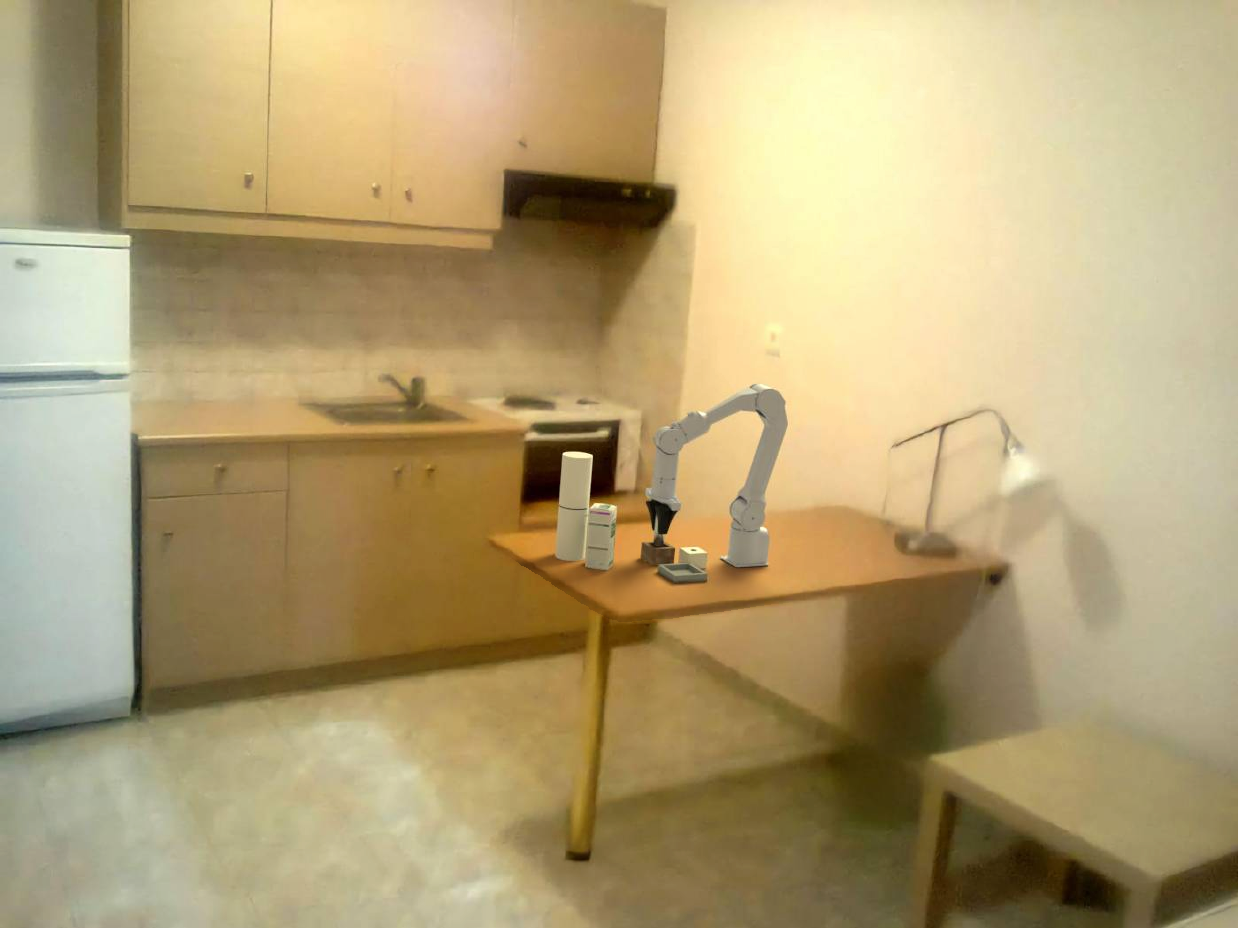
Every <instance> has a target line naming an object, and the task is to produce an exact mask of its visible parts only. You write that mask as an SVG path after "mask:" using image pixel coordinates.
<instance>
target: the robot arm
mask: <svg viewBox="0 0 1238 928" xmlns="http://www.w3.org/2000/svg"><path fill="white" fill-rule="evenodd" d="M786 403H787V401H786V400H785V398H784V397H783V395H782V393H781V392H780V391H779V390H777V389H775V387H774V388H772V387H770V386H767V385H766V384H764V383H761V382H756V383H753V384H751V385H750V386H749V387H748V386H746V387H744V388H742V389H740V390H739V391H738V392H736V393H735V394H733V395H731V396H729V397H728V398H727V399H724V400H723V401H721V402H719V403H718V404H717V405H714V406H713V407H712V408H710V409H708V410H707V411H705V412H702V411H698V410H696V411H689V412H687V413H686V414H687V416H685V417H683V418H681V419H679V420H677V421H676V422H674V421H672V422H670V423H669V424H670V426H666V425H665V426H661V427H660V428H658V429H657V430H656V432H655V434H654V436H653V437H652V440H653V444H654V446H656V447H655V455H654V462H653V471H652V484H651V487H646V488H645V493H644V494H645V497H646V498H647V499H649V500H646V501H645V505H646V506H647V510H648V512H649V516H650V523H651V524H650V525H651V529H652V531H653V532H654V529H655V518H656V513H657V518H658V534H660V535H661V534H665V535H668V533H669V529H670V527H671V524H672V521H673V520H674V518H675V516H676V515H677V513H678V512H679V511H681V506H682V502H680V501H679V500H678V498H677V496H676V489H677V488H676V487H677V481H678V479H677V478H678V469H679V456H680V452H681V451H682V449H683V447H684V445H688V444H689V443H690V442H692V441H694V440H696V439H698V438H701V436H702V437H703V435H705V434H707V433H709V431H710V429H711V426H712V425H713V424H714V425H715V423H718V422H720V421H721V420H725V419H726V418H728V417H730V416H732V415H734V414H737V413H739V412H742V411H743V412H751V413H756V414H758V416H759V418H760V420H761V422H762V423H763V429H762V433H761V435H760V438H759V441H758V443H757V447H756V449H755V452H754V456H753V459H752V461H751V465H750V468H749V471H748V474H747V477H746V480H745V483H744V486H743V487H741V488H740V489H739V490H738V493H737V495H736V497H735V498H734V499H733V500H732V501H731V502H730V504H729V505H730V506H729V509H728V512H729V515H730V516H731V518H732V521H731V523H730V529H729V531H730V532H729V537H728V538H729V540H728V548H727V555H721V556H720V559H721V560H724V561H725V562H727V563H728V564H730V565H731V566H733V567H735V568H745V567H760V566H762V567H763V566H769V564H770V563H769V562H768V556H769V548H770V535H769V532H768V531H769V530H767V528H766V527H764V526H763V524H764V523H765V521H766V515H765V514H766V513H765V509H766V506H767V501H766V500H767V499H766V492H767V491H766V490H767V488H768V485H769V484H770V483H769V482H770V479H771V477H772V473H773V470H774V467H775V464H776V461H777V458H778V456H779V453H780V450H781V446H782V445H783V441H784V437H785V434H786V432H787V429H788V424H789V423H788V415H787V411H786Z"/></svg>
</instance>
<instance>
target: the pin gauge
mask: <svg viewBox="0 0 1238 928" xmlns="http://www.w3.org/2000/svg"><path fill="white" fill-rule="evenodd" d="M665 535H666V534H661V535H660V534H658V518H657V513H656V518H655V529H654V531H653V540H652V542H653V545H656V546H663V545H664V541H665Z"/></svg>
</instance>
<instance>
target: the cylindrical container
mask: <svg viewBox="0 0 1238 928" xmlns="http://www.w3.org/2000/svg"><path fill="white" fill-rule="evenodd" d="M593 458H594V457H593V454H590V453H587V452H582V451H565V452H563V453H562V457H561V470H560V471H561V472H560V484H559V498H558V510H557V512H558V513H557V522H556V523H557V525H556V536H555V537H556V540H555V542H556V543H555V549H554V550H555V553H554V557H555V558H556V559H559V560H561V561H567V562H579V561H583V560H585V559H584V558H585V557H586V542H587V525H588V509H589V508H590V497H591V494H590V493H591V484H592V471H593V460H594V459H593Z"/></svg>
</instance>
